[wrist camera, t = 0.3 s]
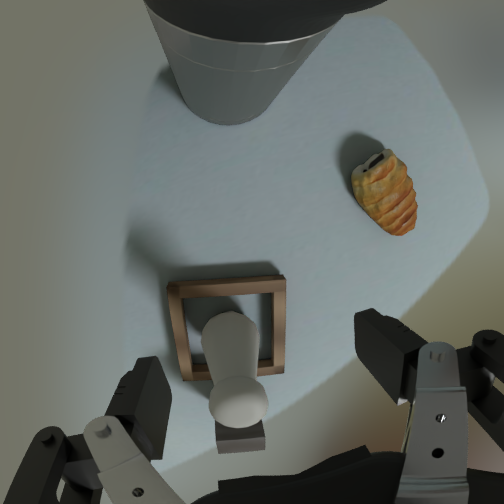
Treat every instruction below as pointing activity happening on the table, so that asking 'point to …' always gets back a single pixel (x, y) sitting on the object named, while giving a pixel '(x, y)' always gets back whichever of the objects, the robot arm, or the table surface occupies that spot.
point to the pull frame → (225, 436)
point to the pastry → (386, 192)
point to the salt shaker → (234, 370)
